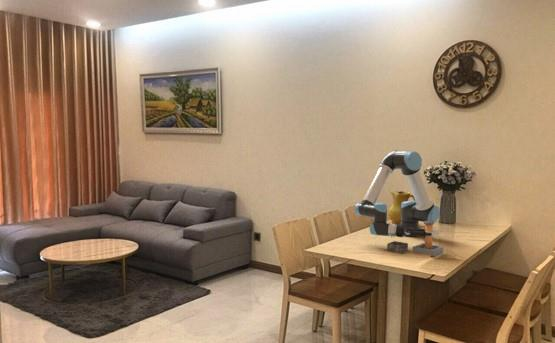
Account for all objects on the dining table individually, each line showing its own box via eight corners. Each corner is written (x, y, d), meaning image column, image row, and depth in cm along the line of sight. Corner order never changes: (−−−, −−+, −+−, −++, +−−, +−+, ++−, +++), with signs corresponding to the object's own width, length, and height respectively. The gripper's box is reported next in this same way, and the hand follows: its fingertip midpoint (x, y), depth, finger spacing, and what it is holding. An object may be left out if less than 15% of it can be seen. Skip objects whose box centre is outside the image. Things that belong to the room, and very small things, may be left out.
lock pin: (421, 249, 264) (422, 221, 262) (425, 247, 268) (426, 220, 267) (430, 251, 260) (431, 223, 259) (434, 249, 264) (435, 221, 263)
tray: (412, 253, 264) (412, 247, 263) (422, 249, 273) (422, 242, 273) (434, 257, 255) (434, 250, 255) (443, 253, 265) (443, 246, 264)
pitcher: (396, 220, 365) (398, 189, 361) (417, 224, 350) (418, 192, 347) (383, 223, 354) (384, 191, 350) (403, 228, 340) (405, 195, 336)
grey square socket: (383, 253, 266) (383, 243, 265) (393, 249, 275) (393, 240, 274) (402, 256, 258) (402, 247, 257) (411, 252, 267) (411, 243, 266)
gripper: (398, 233, 279) (439, 237, 269) (393, 239, 263) (436, 243, 254) (399, 221, 278) (439, 224, 268) (394, 226, 263) (437, 230, 253)
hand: (438, 233), depth 261 cm, fingers closed on lock pin, 4 cm apart
